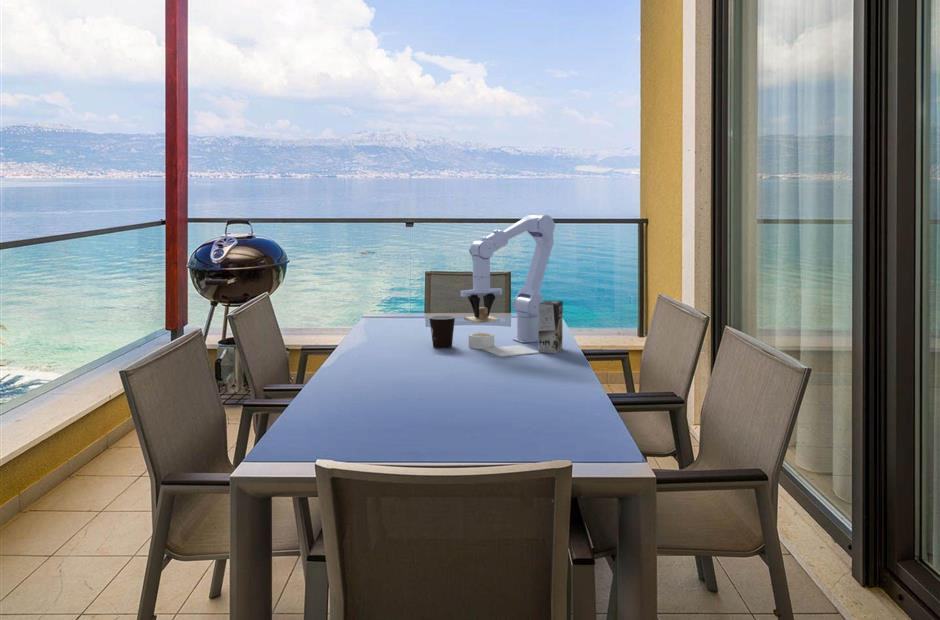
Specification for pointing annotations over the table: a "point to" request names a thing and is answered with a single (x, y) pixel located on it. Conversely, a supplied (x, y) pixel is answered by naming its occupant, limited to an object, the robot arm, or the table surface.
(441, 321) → the coffee mug
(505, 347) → the mat
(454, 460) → the table surface
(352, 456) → the table surface
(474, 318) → the cover
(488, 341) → the bowl
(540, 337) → the coffee box
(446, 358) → the table surface
